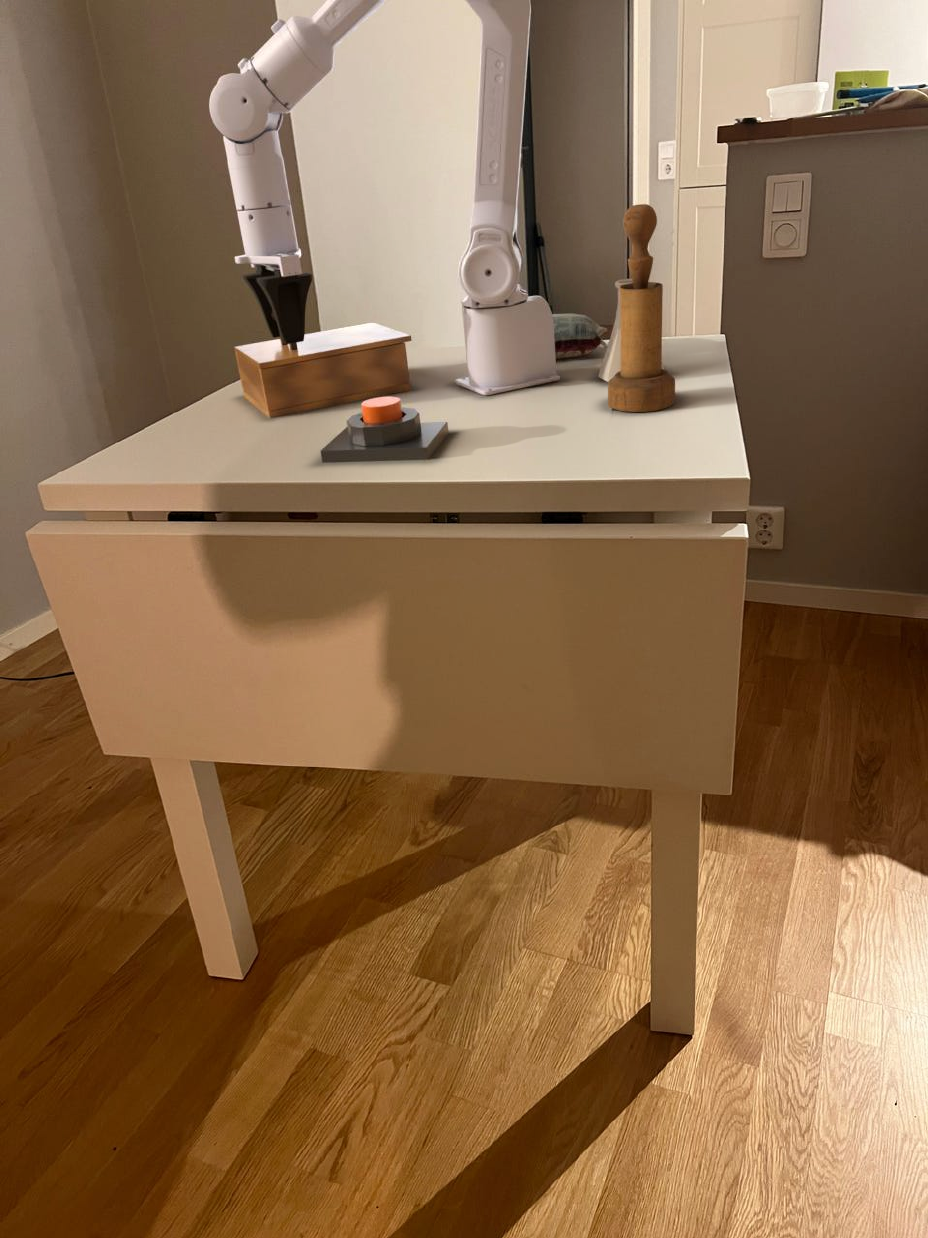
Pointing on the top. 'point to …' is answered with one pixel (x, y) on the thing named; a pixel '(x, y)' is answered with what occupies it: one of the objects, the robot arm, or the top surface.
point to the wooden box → (325, 380)
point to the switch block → (386, 440)
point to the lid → (320, 344)
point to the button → (381, 410)
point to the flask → (614, 343)
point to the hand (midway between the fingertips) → (287, 338)
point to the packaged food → (576, 335)
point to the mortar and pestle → (641, 326)
